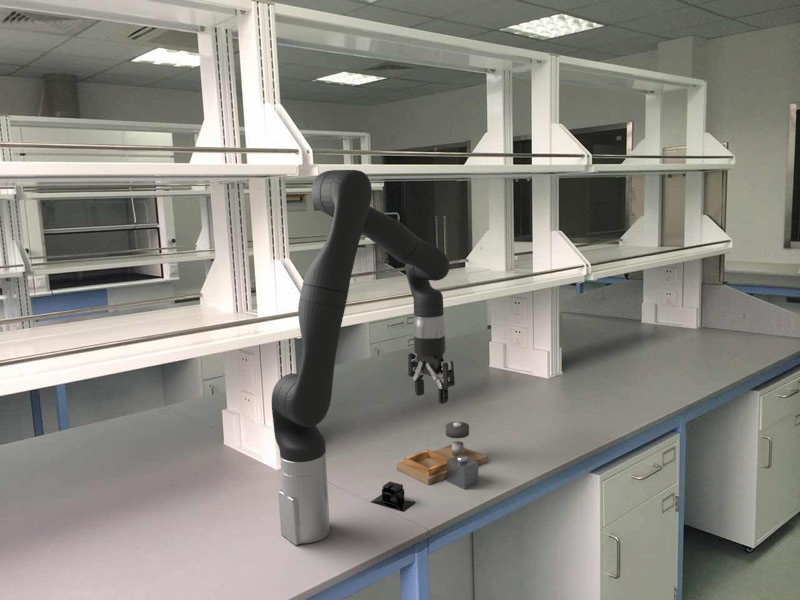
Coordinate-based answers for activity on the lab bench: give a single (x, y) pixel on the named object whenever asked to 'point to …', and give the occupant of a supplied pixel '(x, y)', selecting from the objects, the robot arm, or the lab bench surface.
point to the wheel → (457, 430)
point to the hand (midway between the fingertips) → (431, 398)
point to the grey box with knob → (462, 471)
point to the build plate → (393, 497)
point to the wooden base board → (436, 462)
